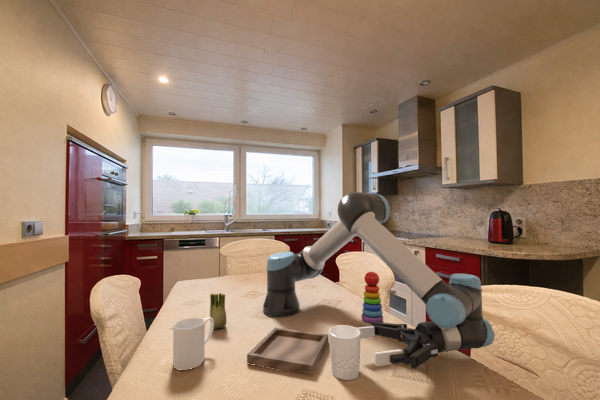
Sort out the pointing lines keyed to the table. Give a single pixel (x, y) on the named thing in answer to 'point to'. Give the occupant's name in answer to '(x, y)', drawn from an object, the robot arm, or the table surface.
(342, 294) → the table surface
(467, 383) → the table surface
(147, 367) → the table surface
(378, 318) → the stacking toy
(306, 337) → the tray
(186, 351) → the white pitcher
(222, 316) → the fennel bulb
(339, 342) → the white cup
